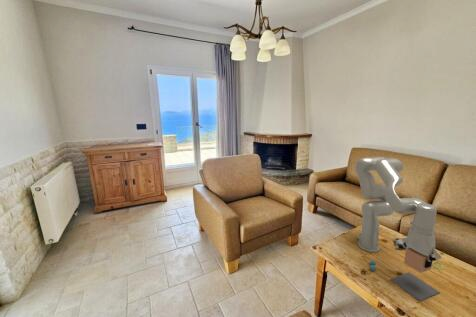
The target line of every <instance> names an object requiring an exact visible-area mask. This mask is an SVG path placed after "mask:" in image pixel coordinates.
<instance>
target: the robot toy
mask: <svg viewBox="0 0 476 317" xmlns="http://www.w3.org/2000/svg"><path fill="white" fill-rule="evenodd" d="M392 240H394V241H393V244H394V245H395V248H396V249H406V247H405V246H404V244H403V242H402V240H401V239H400V238H397V237H394V238H393V239H392Z"/></svg>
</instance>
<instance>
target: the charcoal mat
mask: <svg viewBox="0 0 476 317" xmlns="http://www.w3.org/2000/svg"><path fill="white" fill-rule="evenodd" d="M389 281H391V282H392V283H394V284H395V285H396V286H397V287H399V288H400V289H401V290H403V291H405V292H406V293H407V294H409V295H410V296H412V298H414V299H416V300H417V301H419V302H420V303H421V302H423V301H424V300H428V299H429V298H432V297H434V296H437V295H439V294H440V293H441V292H440V291H439V290H437V289H435V288H434V287H432V286H431V285H430V284H428V283H426V282H425V281H422V280H421V279H420V278H418V277H417V276H416V275H414V274H412V273H410V272H409V271H407V272H406V273H405V272H404V273H402V274H399V275H397V276H394V277H392V278H390V279H389Z"/></svg>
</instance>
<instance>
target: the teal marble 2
mask: <svg viewBox="0 0 476 317" xmlns="http://www.w3.org/2000/svg"><path fill="white" fill-rule="evenodd" d="M369 269H370V270H371V271H372V272H375V271H376V270H377V268H376V265H375V266H374V265H370V264H369Z"/></svg>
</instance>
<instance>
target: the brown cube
mask: <svg viewBox="0 0 476 317" xmlns="http://www.w3.org/2000/svg"><path fill="white" fill-rule="evenodd" d="M404 252H405V253H404V258H403V263H404V265H406V266H408V267H410V268H412V269H413V270H414V271H417V272H418V273H420V274H422V273H425V272H427V271H430V270H432V266H431V267H429V268H425V262H426V260H427V258H426V256H425V255H422V254H421V253H419V252H417V251H415V250H413V249H411V248H407V249H406V248H405V251H404ZM432 256H433V257H434V254H432Z"/></svg>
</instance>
